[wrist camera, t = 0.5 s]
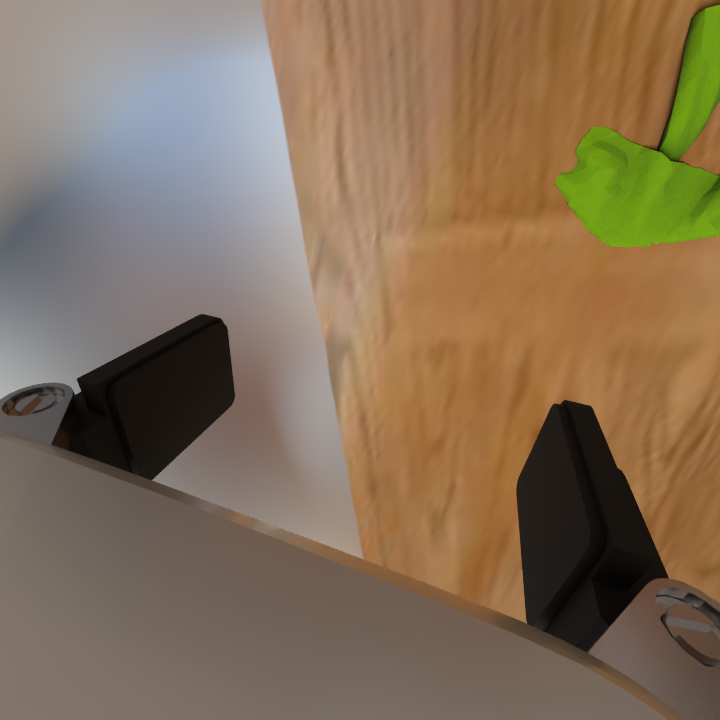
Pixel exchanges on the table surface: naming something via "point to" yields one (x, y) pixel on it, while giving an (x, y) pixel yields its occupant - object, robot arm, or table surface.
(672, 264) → the table surface
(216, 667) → the robot arm
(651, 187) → the cloth
